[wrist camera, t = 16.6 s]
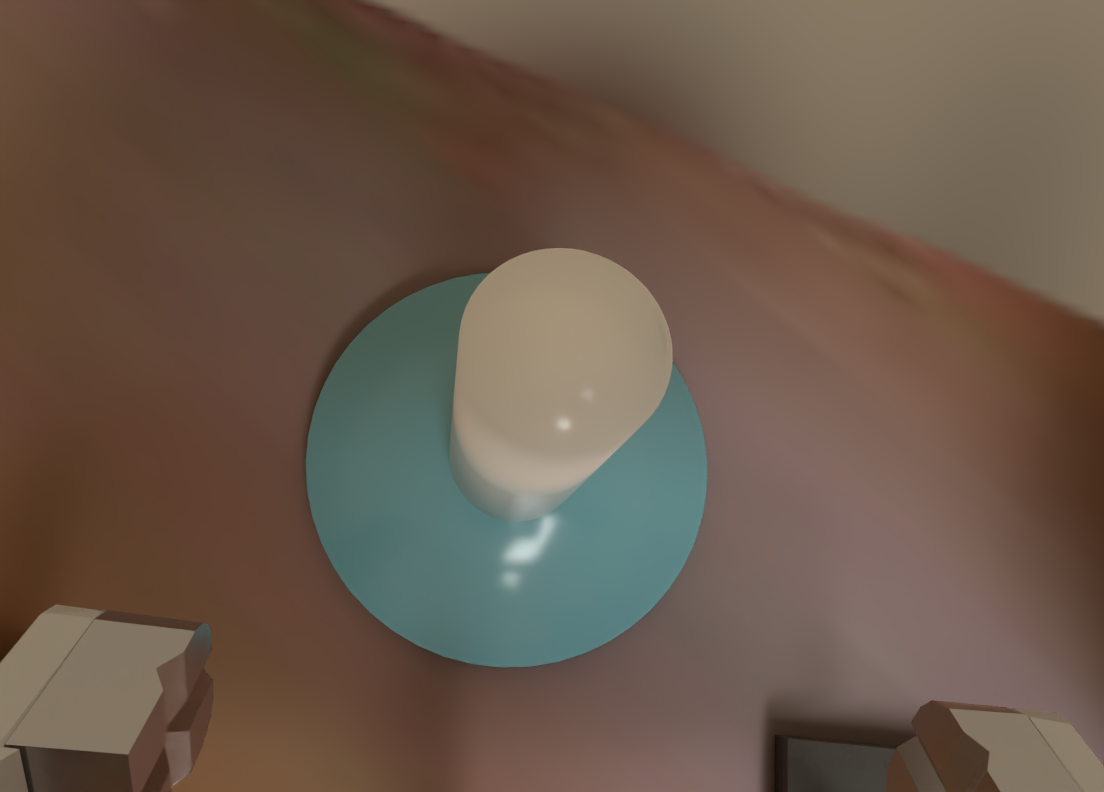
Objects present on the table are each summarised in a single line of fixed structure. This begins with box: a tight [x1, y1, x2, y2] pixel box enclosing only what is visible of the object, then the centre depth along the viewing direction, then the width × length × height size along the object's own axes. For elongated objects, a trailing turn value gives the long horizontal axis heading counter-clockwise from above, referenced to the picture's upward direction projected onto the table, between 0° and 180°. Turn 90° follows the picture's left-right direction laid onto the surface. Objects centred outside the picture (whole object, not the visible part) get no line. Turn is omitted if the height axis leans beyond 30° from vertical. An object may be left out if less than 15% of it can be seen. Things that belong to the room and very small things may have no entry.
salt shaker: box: [449, 248, 673, 522], centre depth 18 cm, size 4×4×9 cm
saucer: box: [306, 273, 708, 667], centre depth 22 cm, size 12×12×1 cm
